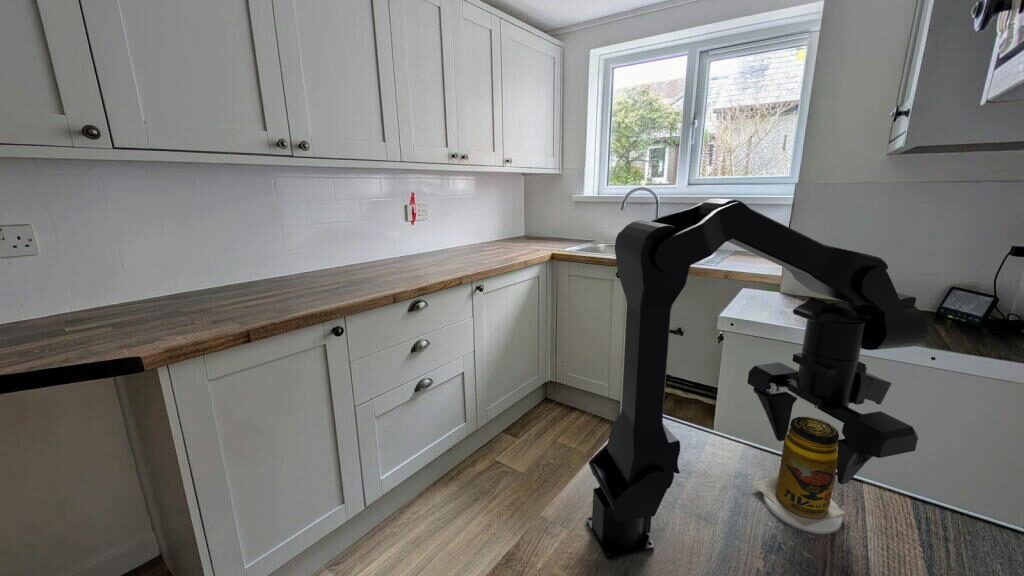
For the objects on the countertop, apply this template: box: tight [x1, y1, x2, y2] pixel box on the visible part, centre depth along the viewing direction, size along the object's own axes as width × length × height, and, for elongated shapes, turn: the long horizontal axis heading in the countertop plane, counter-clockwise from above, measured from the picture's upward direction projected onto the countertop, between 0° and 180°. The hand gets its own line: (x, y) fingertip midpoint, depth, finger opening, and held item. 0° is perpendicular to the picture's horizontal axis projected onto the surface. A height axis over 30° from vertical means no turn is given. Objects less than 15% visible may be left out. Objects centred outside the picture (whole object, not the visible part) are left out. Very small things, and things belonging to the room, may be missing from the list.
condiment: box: [750, 416, 846, 526], centre depth 58 cm, size 7×8×12 cm
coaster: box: [762, 493, 843, 535], centre depth 59 cm, size 9×9×1 cm
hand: (809, 460), depth 57 cm, fingers open, 9 cm apart
